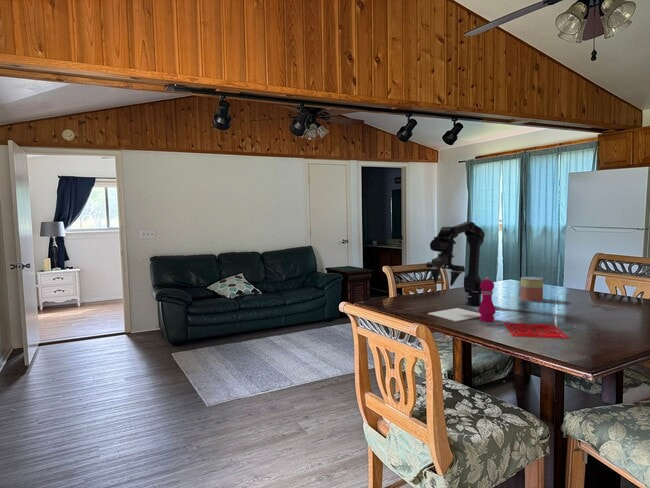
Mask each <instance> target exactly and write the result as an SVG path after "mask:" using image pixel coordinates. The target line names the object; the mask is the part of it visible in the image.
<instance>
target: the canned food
mask: <svg viewBox="0 0 650 488" xmlns="http://www.w3.org/2000/svg"><path fill="white" fill-rule="evenodd" d="M519 299H520V300H521V301H523V300H524V302H529V301H532V302H531V303H539V302H538V301H541V302H543V301H544V278H543V277H539V276H521V277H520V297H519Z"/></svg>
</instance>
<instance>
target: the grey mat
mask: <svg viewBox="0 0 650 488" xmlns="http://www.w3.org/2000/svg"><path fill="white" fill-rule="evenodd" d="M427 315H429V316H434V317H438V318H441V319H445V320H449V321H453V322H455V323H457V322H462V321H468V320H473V319H477V318H480V315H481V314H480V313H479V312H474V311H472V310H467V309H463V308H458V307H456V308H450V309H444V310H439V311H433V312H428V313H427Z"/></svg>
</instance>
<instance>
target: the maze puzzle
mask: <svg viewBox="0 0 650 488" xmlns="http://www.w3.org/2000/svg"><path fill="white" fill-rule="evenodd" d="M503 324H504V325H505V327H506V328H507V330H508V331H509V332H510V335H512V337H517V338H518V337H519V338H522V337H523V338H542V339H570V337H569V336H568V335H567V334H566V333H564V332H563V331H562V330H561V329H560V328H558V327H557V326H556V325H555V324H544V323H543V324H539V323H529V324H528V323H516V322H514V323H513V322H512V323H511V322H504V323H503Z"/></svg>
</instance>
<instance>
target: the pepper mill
mask: <svg viewBox="0 0 650 488" xmlns="http://www.w3.org/2000/svg"><path fill="white" fill-rule="evenodd" d="M480 288H481V289H482V290H481V304H480V305H478V312H477V313H480V314H481V315H480V317H479V321H480V322H484V323H493V322H495V314H496V311H497V310H496V308H495V305H494V303H493V297H492V295H493V294H494V289H495V284H494V281H492V280H490V276H485V277H484V280H481V283H480Z"/></svg>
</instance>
